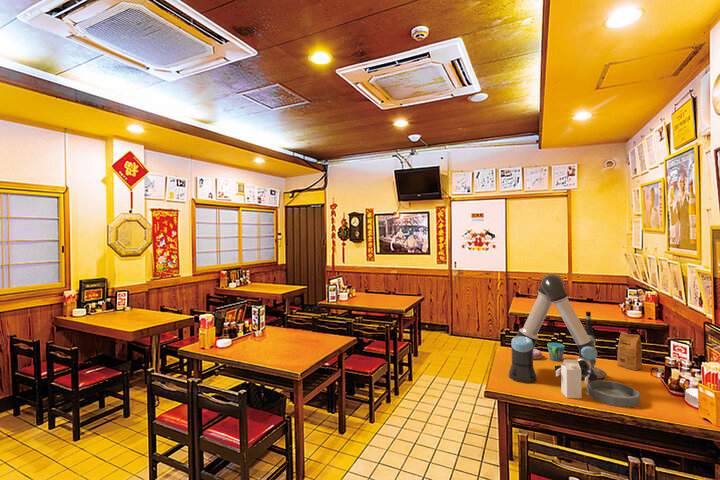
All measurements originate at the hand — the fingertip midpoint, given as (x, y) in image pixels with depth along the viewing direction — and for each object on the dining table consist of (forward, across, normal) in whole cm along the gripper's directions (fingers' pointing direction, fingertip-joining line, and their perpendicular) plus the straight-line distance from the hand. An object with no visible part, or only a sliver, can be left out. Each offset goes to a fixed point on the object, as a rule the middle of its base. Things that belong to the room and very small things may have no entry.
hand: (570, 377), depth 187 cm
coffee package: (-72, -14, -11) cm, 74 cm away
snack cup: (-56, +24, -11) cm, 62 cm away
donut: (-50, +38, -11) cm, 64 cm away
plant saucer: (-38, +2, -11) cm, 39 cm away
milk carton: (-2, 0, -11) cm, 11 cm away
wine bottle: (-84, +11, -11) cm, 86 cm away
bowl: (-14, -16, -10) cm, 24 cm away
